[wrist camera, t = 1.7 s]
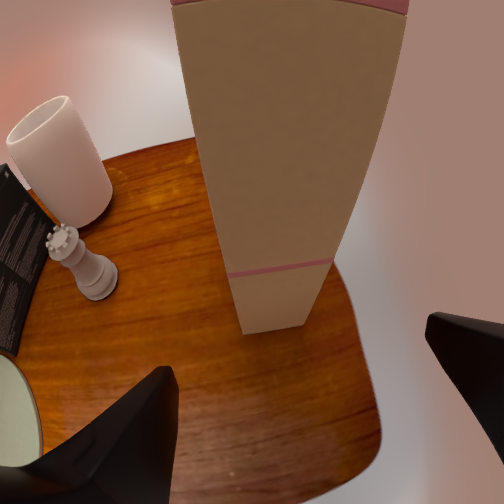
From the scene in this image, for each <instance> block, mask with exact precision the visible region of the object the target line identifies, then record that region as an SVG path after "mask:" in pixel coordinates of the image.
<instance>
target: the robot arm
mask: <svg viewBox="0 0 504 504" xmlns="http://www.w3.org/2000/svg"><path fill="white" fill-rule="evenodd" d="M425 338H426V341H427V342H428V344H429V346H430V347H431V349H432V351H433V352H434V354H435V356H436V358H437V359H438V361H439V363H440V364H441V366H442V368H443V369H444V371H445V372H446V374H447V375H448V376H449V378H450V379H451V381H452V382H453V383H454V385H455V386H456V388H457V389H458V391H459V392H460V394H461V395H462V397H463V398H464V400H465V401H466V403H467V404H468V405H469V407H470V409H471V410H472V412H473V413H474V415H475V416H476V418H477V420H478V421H479V423H480V424H481V426H482V428H483V429H484V431H485V432H486V434H487V436H488V437H489V439H490V441H491V442H492V444H493V445H494V448H495V450H496V451H497V453H498V455H499V457H500V458H501V461H502V462H503V464H504V324H500V323H494V322H489V321H484V320H479V319H473V318H468V317H463V316H458V315H453V314H447V313H442V312H435V313H432V314H430V315H429V316H428V319H427V325H426V331H425ZM178 407H179V387H178V384H177V381H176V378H175V375H174V372H173V370H172V368H171V367H170V366H158V367H157V368H156V369H154V370H153V371H152V372H151V373H150V374H149V375H147V376H146V377H145V378H144V379H143V380H141V381H140V382H139V383H138V384H137V385H135V386H134V387H133V388H132V389H131V390H129V391H128V392H127V393H126V394H125V395H123V396H122V397H121V398H120V399H119V400H117V401H116V402H115V403H114V404H113V405H111V406H110V407H109V408H108V409H106V410H105V411H104V412H103V413H102V414H100V415H99V416H98V417H97V418H95V419H94V420H93V421H92V422H91V424H88V425H87V426H85V427H84V428H83V429H82V430H80V431H79V432H78V433H76V434H75V435H74V436H72V437H71V438H70V439H68V440H67V441H65V442H64V443H62V444H61V445H59V446H57V447H56V448H54V449H53V450H51V451H49V452H48V453H46V454H45V455H43V456H41V457H40V458H38V459H36V460H35V461H33V462H31V463H29V464H27V465H24V466H19V467H9V466H0V504H169V496H170V487H171V479H172V471H173V463H174V456H175V448H176V441H177V434H178Z"/></svg>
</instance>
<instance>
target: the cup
mask: <svg viewBox="0 0 504 504" xmlns="http://www.w3.org/2000/svg"><path fill="white" fill-rule="evenodd" d="M6 146H7V148H8V150H9V152H10V154H11V156H12V158H13V160H14V162H15V163H16V165H17V167H18V168H19V170H20V172H21V173H22V175H23V176H24V178H25V179H26V181H27V183H28V184H29V185H30V187H31V188H32V189H33V191H34V192H35V193H36V195H37V196H38V197H39V199H40V200H41V201H42V202H43V203H44V205H45V206H46V207H47V208H48V209H49V210H50V212H51V213H52V214H53V215H54V216H55V217H56V218H57V219H58V220H59V221H60V222H61V223H63V224H66V225H67V226H69V227H74V228H80V227H83V226H85V225H87V224H89V223H90V222H92V221H93V220H95V219H96V218H97V217H98V216H99V215H100V214H102V213H103V211H104V210H105V209H106V207H107V206H108V204H109V202H110V200H111V197H112V193H113V190H112V185H111V182H110V180H109V177H108V175H107V173H106V171H105V168H104V166H103V164H102V161H101V159H100V157H99V155H98V153H97V150H96V148H95V146H94V144H93V142H92V140H91V138H90V135H89V133H88V131H87V129H86V127H85V126H84V124H83V122H82V120H81V118H80V116H79V114H78V112H77V110H76V109H75V107H74V105H73V103H72V102H71V100H70V98H69V97H68V96H59V97H56V98H53V99H51V100H49V101H47V102H45V103H43V104H42V105H40V106H38V107H37V108H36V109H34V110H33V111H31V112H30V113H29V114H28V115H26V116H25V117H24V118H23V119H22V120H21V121H20V122H19V123H18V124H17V125H16V126H15V127H14V128H13V130H12V131H11V132H10V134H9V135H8V137H7V140H6Z"/></svg>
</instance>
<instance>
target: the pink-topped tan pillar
mask: <svg viewBox="0 0 504 504" xmlns="http://www.w3.org/2000/svg"><path fill="white" fill-rule="evenodd" d="M170 2H171V4H172V5H173V6H172V8H171V9H172V15H173V21H174V28H175V33H176V39H177V45H178V50H179V56H180V61H181V67H182V72H183V78H184V83H185V88H186V94H187V99H188V104H189V109H190V114H191V119H192V124H193V128H194V133H195V138H196V143H197V148H198V152H199V157H200V161H201V166H202V171H203V175H204V180H205V184H206V188H207V193H208V197H209V202H210V206H211V210H212V214H213V219H214V223H215V227H216V231H217V236H218V240H219V244H220V248H221V252H222V256H223V260H224V264H225V268H226V274H227V277H228V280H229V284H230V288H231V292H232V295H233V299H234V303H235V307H236V311H237V315H238V318H239V322H240V326H241V329H242V333H243V335H246V334H253V333H260V332H266V331H272V330H278V329H284V328H290V327H295V326H301V325H304V323H305V321H306V319H307V317H308V315H309V313H310V311H311V308H312V306H313V304H314V302H315V300H316V298H317V295H318V293H319V291H320V289H321V287H322V284H323V282H324V280H325V277H326V275H327V273H328V271H329V268H330V266H331V264H332V262H333V260H334V257H335V254H336V251H337V249H338V247H339V244H340V242H341V239H342V237H343V234H344V232H345V229H346V227H347V224H348V222H349V219H350V216H351V214H352V211H353V208H354V206H355V203H356V200H357V198H358V195H359V192H360V189H361V187H362V184H363V181H364V178H365V175H366V172H367V169H368V166H369V163H370V160H371V157H372V154H373V151H374V148H375V145H376V142H377V138H378V135H379V132H380V128H381V125H382V122H383V118H384V115H385V111H386V107H387V104H388V100H389V96H390V93H391V88H392V85H393V81H394V77H395V72H396V68H397V64H398V59H399V55H400V50H401V46H402V41H403V35H404V30H405V25H406V19H407V17H406V16H405V15H407V12H408V6H409V0H170Z"/></svg>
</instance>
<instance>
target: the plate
mask: <svg viewBox="0 0 504 504" xmlns="http://www.w3.org/2000/svg"><path fill="white" fill-rule="evenodd" d="M42 453H43V440H42V430H41V424H40V418H39V414H38V410H37V406H36V403H35V400H34V397H33V394H32V392H31V389H30V387H29V385H28V383H27V381H26V379H25V377H24V375H23V374H22V372H21V371H20V369H19V368H18V367H17V366H16V365H15V363H13V362H12V361H11V360H10V359H8V358H7V357H5V356H3V355H0V466H9V467H19V466H24V465H27V464H29V463H31V462H33V461H35V460H36V459H38V458H40V457H41V456H42Z"/></svg>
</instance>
